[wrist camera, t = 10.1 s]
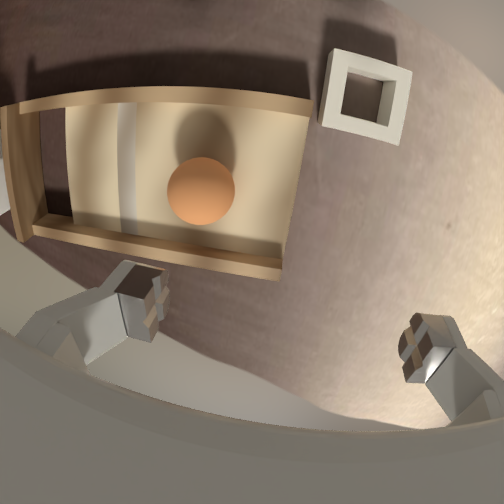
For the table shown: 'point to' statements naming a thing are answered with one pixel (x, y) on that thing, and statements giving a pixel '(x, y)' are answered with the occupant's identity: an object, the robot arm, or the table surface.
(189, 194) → the ball
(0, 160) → the medicine bottle
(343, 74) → the square ring
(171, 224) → the lane
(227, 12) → the table surface
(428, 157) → the table surface
